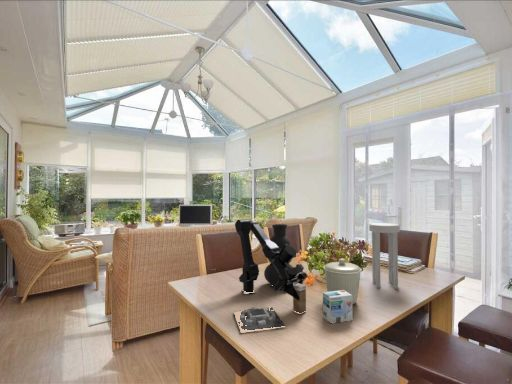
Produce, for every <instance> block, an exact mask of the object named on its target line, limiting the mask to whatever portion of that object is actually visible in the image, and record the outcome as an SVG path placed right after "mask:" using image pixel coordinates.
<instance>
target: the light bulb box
mask: <svg viewBox="0 0 512 384" xmlns="http://www.w3.org/2000/svg"><path fill="white" fill-rule="evenodd" d="M322 318H323V319H325V320H326V319H327V320H328V321H329V322H330V323H332V324H335V323H334V322H340V323H343V322H342V321H347V322H351V321H350V320H352V321H353V305H352V295H351V294H349V293H348V292H346V291H345V290H339V291H330V292H327V291H323V292H322ZM327 320H326V321H327ZM328 321H327V322H328ZM329 322H328V323H329ZM330 323H329V324H330Z"/></svg>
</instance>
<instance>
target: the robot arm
mask: <svg viewBox="0 0 512 384" xmlns="http://www.w3.org/2000/svg"><path fill="white" fill-rule="evenodd" d="M235 221H236V222H235V223H234V226H235V231H236V233H237V234H238V236H239V238H240V244H241V249H242V256H243V257H242V258H243V262H244V263H243V266H242V269H241V270H242V273H241V274H240V276H239V277H238V279H239V282H240V283H242V290H244V291H246V292H253V290H254V291H255V288H254V283H255V281H257V280H258V277H259V276H260V269H259V264H258V263H255V261H254V258H253V257H254V256H253V250H252V245H251V238H250V234H251V232H252V234H253V235H254V236H255V238H256V239H257V241H258V242H259V244H260V245H261V251H262V253H263V255H264V256H265V258H266V259H267V260H268V259H270V258H275V257H276V258H275V259H274V260H271V263H270V262H269V263H270V264H269V265H270V266H274V267H275V268H276V270H277V271H278V273H279V274H278V276H281V278H282V280H279V281H278V282H277V283H276V284H275V285H274V287H273V289H274V291H275V292H276V293H278V292H281V290H282V292H284V293H287V294H288V295H289V296H291V297H292V298H293V297H294V298H295V299H297V300H299V299H300V298H299V296H298V294H297V292H296V291H295V289H294V287H293V285H295V284H298V283H299V284H303V283H304V281H305V280H306V279H307V278H308V277H309V275H308V274H307V272H305V271H303V270H304V269H305V267H304V266H303V265H302V263H301V262H300V263H298V264H297V263H296V264H295V266H293V267H294V268H292V267H291V266H292V265H291V266H288V265H287V263H289V262H290V261H291V262H292V261H293V259H294V257H295V256H296V255H297V250H296V249H295V248H293V247H292V246H291V245H290V246H289V245H288V244H286V245H284V246H283V248H282V249H281V248H279V247H278V246H277V245H276V244H275V243H274V242H272V241H270V238H269V237H268V235H267V234H266V233H265V231H264V230H263V229H262V227H261V226H260V224H259V222H258V221H257V220H249V219H247V218H245V219H237V220H235ZM291 262H290V263H291ZM290 263H289V264H290ZM295 276H296V277H295ZM303 285H304V284H303ZM281 287H283V288H281Z"/></svg>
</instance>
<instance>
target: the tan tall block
mask: <svg viewBox="0 0 512 384" xmlns="http://www.w3.org/2000/svg"><path fill="white" fill-rule="evenodd" d="M293 287H294V289H295V291H296V292H297V294H298V296H299V298H300V299H299V300H297V299H295V298H294V297H292V305H293V306H292V307H293V308H292V309H293V310H294V311H296V312H299V313H302V312H304V311H306V312H307V286H306V284H299V283H298V284H295V285H294V284H293ZM293 310H292V311H293Z"/></svg>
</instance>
